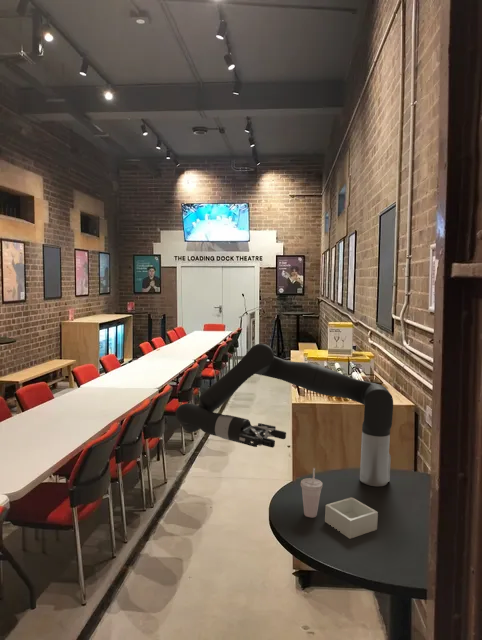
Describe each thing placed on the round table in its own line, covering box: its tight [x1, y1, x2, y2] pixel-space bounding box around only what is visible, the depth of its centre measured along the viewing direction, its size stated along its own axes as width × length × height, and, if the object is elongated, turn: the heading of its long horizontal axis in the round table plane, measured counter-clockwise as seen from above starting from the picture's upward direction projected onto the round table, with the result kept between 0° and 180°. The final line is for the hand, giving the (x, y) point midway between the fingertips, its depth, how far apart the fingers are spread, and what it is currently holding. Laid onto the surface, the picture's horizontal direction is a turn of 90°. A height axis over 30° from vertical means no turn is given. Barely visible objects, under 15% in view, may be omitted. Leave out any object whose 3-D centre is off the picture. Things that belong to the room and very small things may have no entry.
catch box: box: [324, 497, 379, 539], centre depth 132 cm, size 10×10×5 cm
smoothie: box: [300, 467, 324, 518], centre depth 138 cm, size 6×6×14 cm
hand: (280, 439), depth 141 cm, fingers open, 8 cm apart
